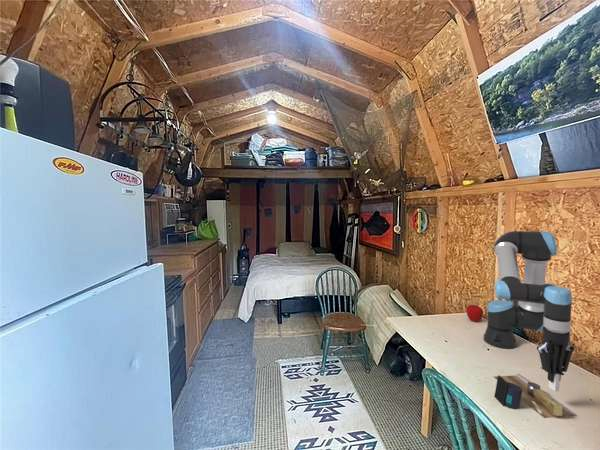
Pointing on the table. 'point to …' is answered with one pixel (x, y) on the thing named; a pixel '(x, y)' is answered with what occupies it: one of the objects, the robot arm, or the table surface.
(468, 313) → the apple
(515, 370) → the table surface
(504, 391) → the speaker
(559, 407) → the latch bar
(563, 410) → the plate
